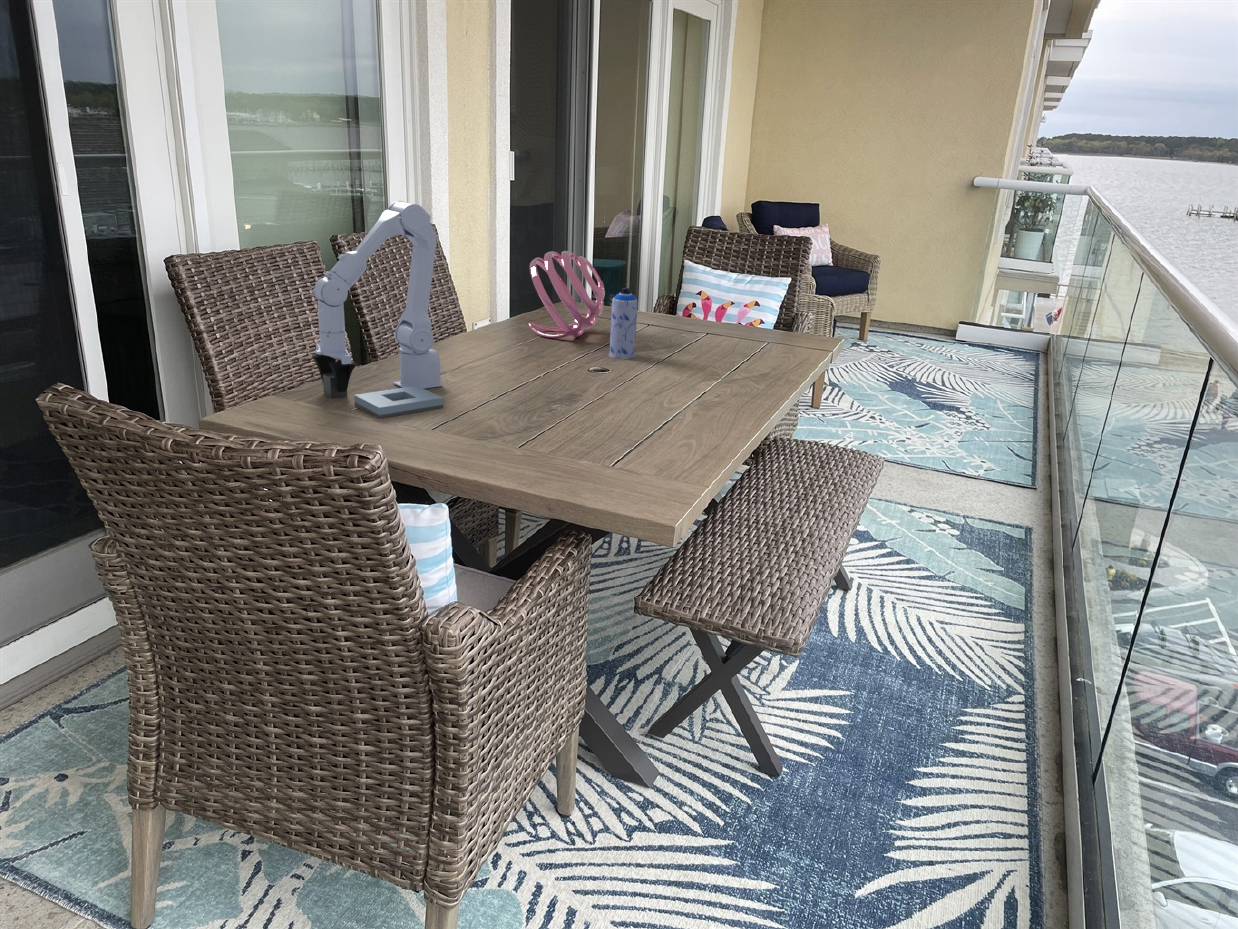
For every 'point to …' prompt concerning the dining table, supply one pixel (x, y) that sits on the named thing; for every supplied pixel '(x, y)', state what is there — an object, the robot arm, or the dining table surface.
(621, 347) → the aerosol can
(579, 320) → the spiral basket
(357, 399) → the pale blue socket slab
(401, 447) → the dining table surface
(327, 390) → the plug
